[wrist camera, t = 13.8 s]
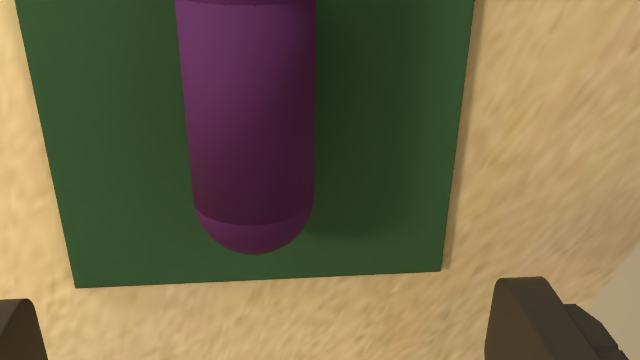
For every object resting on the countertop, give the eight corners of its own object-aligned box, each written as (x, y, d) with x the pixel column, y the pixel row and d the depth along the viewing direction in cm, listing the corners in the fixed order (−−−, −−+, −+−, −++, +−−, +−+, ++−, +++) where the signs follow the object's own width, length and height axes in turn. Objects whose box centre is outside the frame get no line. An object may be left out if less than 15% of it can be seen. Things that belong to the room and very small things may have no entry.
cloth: (495, -195, 20) (499, -196, 19) (438, 266, 28) (440, 271, 27) (-25, -207, 18) (-30, -209, 18) (77, 283, 26) (75, 289, 26)
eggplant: (316, -138, 19) (320, -139, 15) (312, 215, 25) (314, 279, 21) (177, -139, 19) (145, -141, 15) (206, 215, 25) (188, 279, 21)
